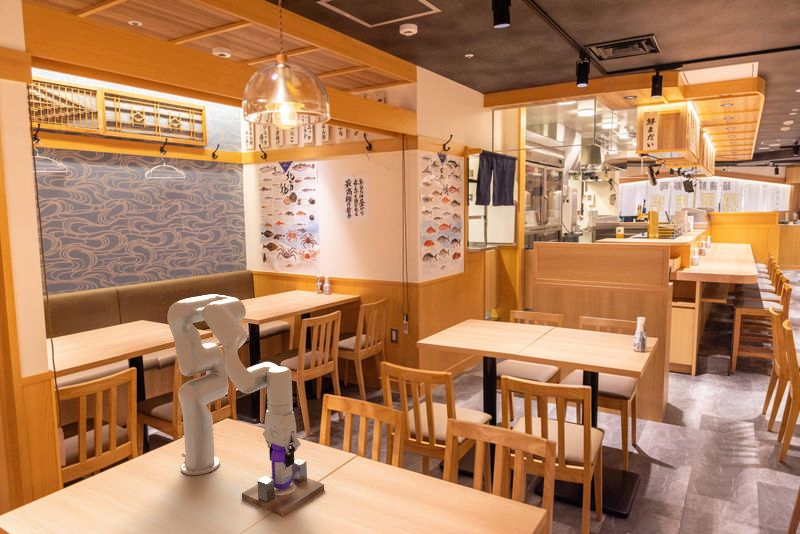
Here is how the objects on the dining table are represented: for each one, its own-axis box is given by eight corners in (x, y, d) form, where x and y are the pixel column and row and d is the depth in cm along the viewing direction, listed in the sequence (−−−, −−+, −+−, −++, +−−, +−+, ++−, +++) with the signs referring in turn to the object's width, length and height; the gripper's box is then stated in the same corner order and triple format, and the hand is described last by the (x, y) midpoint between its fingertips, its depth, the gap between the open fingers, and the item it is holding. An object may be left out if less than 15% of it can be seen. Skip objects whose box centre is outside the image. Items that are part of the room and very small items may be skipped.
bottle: (286, 491, 166) (284, 437, 163) (269, 489, 167) (267, 436, 165) (295, 479, 173) (294, 427, 171) (279, 478, 174) (277, 426, 172)
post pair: (258, 499, 164) (257, 480, 163) (298, 475, 178) (297, 458, 177) (267, 503, 162) (266, 484, 161) (307, 478, 176) (306, 461, 175)
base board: (241, 499, 168) (241, 492, 167) (284, 474, 182) (284, 468, 182) (282, 517, 158) (282, 510, 157) (324, 490, 172) (324, 483, 172)
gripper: (251, 405, 168) (253, 459, 171) (291, 417, 159) (293, 474, 161) (270, 397, 175) (271, 450, 177) (309, 409, 165) (310, 464, 167)
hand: (282, 461), depth 169 cm, fingers open, 6 cm apart
